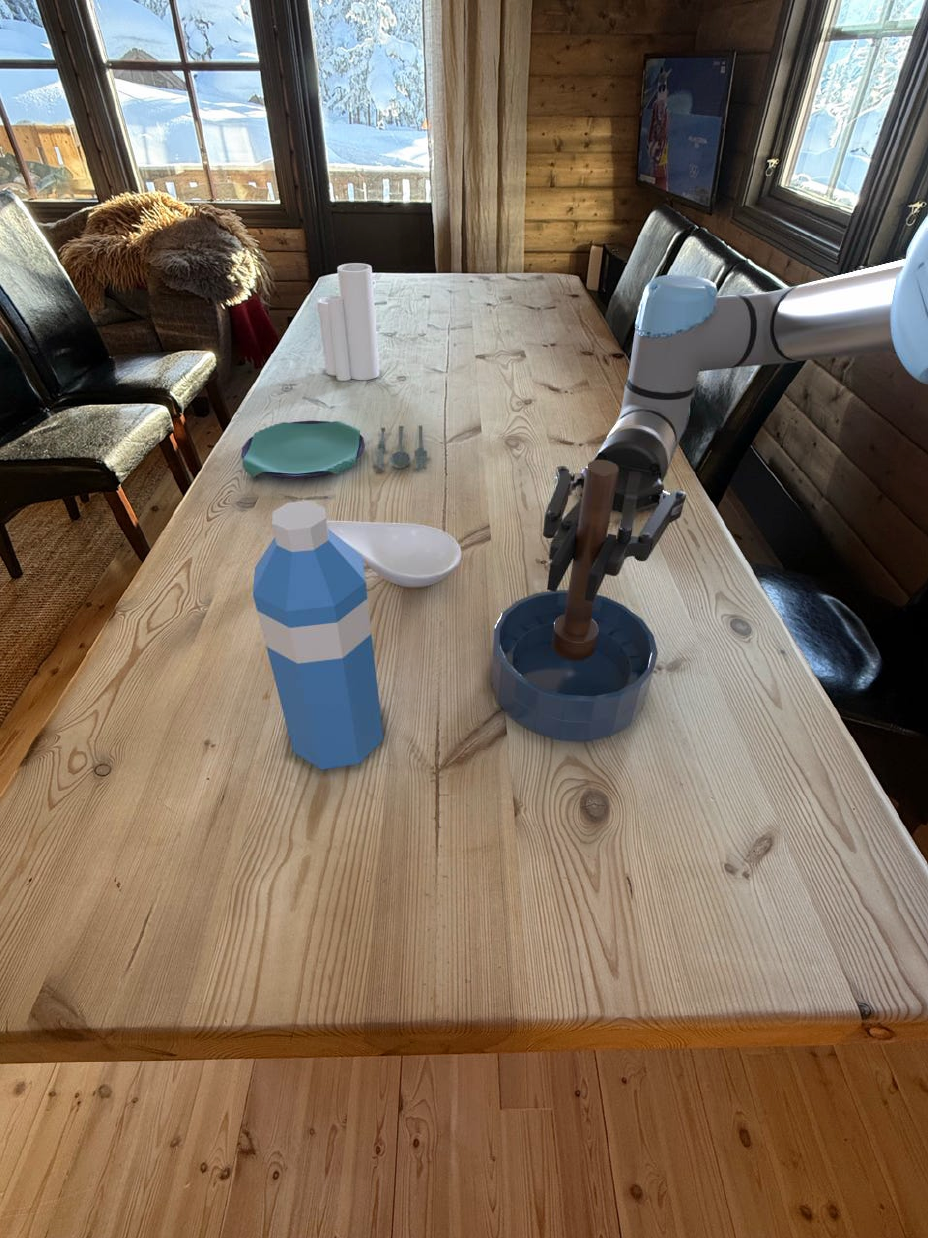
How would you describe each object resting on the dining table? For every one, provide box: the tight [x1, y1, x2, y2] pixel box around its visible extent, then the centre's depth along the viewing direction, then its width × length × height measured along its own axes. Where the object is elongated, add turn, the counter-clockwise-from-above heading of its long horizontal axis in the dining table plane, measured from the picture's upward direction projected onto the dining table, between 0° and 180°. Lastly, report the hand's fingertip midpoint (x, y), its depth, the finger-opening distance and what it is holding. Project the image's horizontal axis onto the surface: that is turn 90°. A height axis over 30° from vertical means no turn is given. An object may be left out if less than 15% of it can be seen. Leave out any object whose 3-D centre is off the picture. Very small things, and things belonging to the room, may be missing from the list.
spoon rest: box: [327, 520, 462, 588], centre depth 82 cm, size 24×12×7 cm, turn 94°
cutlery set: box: [240, 420, 428, 479], centre depth 108 cm, size 20×30×2 cm, turn 93°
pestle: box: [552, 459, 619, 661], centre depth 60 cm, size 4×4×20 cm
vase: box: [316, 262, 380, 382], centre depth 130 cm, size 11×7×20 cm, turn 89°
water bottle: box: [252, 500, 384, 771], centre depth 57 cm, size 9×9×25 cm
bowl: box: [490, 589, 659, 743], centre depth 68 cm, size 16×16×6 cm
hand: (571, 582), depth 55 cm, fingers closed on pestle, 3 cm apart
